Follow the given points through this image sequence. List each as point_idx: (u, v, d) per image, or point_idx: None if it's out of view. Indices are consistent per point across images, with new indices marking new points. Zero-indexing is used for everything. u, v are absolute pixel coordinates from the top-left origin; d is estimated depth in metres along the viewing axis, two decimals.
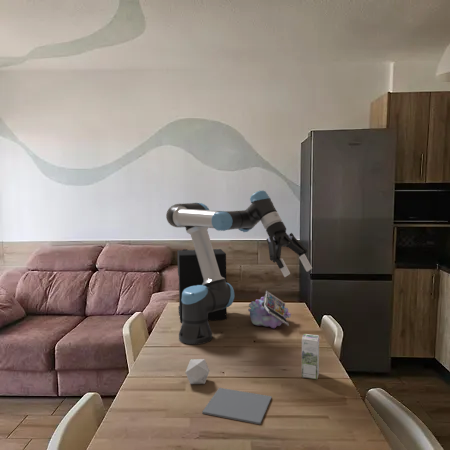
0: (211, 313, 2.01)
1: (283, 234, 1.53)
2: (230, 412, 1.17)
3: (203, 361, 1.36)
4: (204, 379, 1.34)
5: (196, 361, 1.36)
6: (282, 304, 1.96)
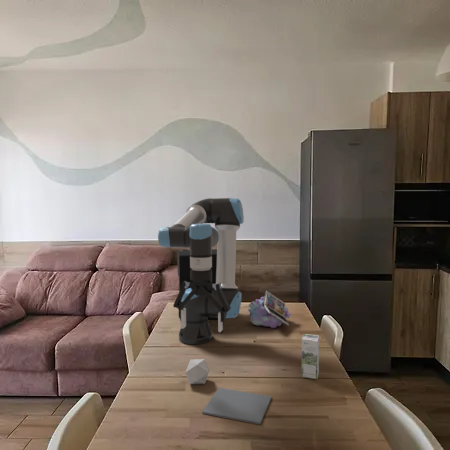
0: None
1: (203, 283, 1.32)
2: (230, 412, 1.17)
3: (203, 361, 1.36)
4: (204, 379, 1.34)
5: (196, 361, 1.36)
6: (282, 304, 1.96)
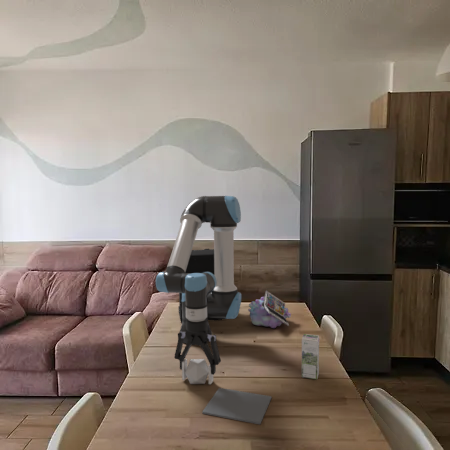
0: None
1: (199, 333, 1.34)
2: (230, 412, 1.17)
3: (203, 361, 1.36)
4: (204, 379, 1.34)
5: (196, 361, 1.36)
6: (282, 304, 1.96)
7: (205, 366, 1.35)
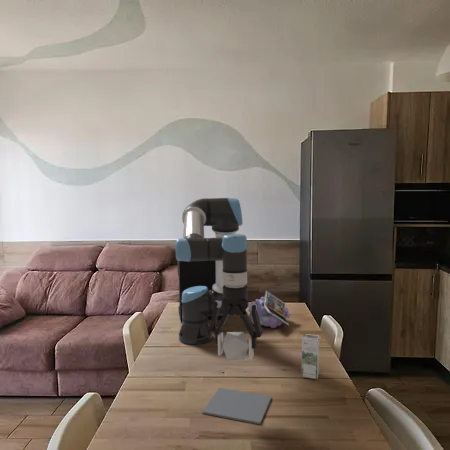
0: None
1: (238, 302, 1.18)
2: (230, 412, 1.17)
3: (242, 334, 1.20)
4: (244, 354, 1.18)
5: (234, 334, 1.19)
6: (282, 304, 1.96)
7: (244, 339, 1.19)
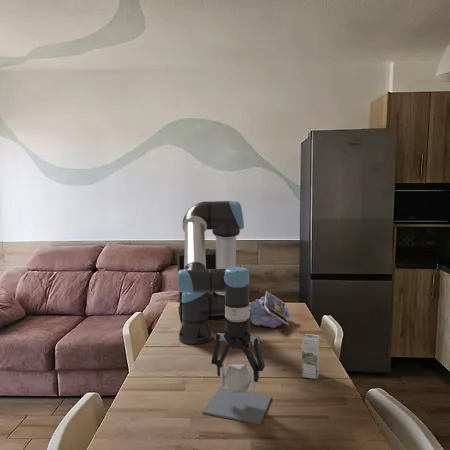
0: None
1: (240, 335, 1.18)
2: (230, 412, 1.17)
3: (244, 367, 1.21)
4: (246, 387, 1.18)
5: (236, 367, 1.20)
6: (282, 304, 1.96)
7: (247, 372, 1.19)
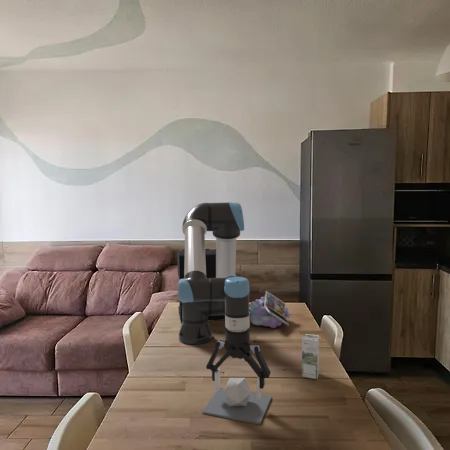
0: None
1: (240, 345, 1.18)
2: (230, 412, 1.17)
3: (244, 380, 1.21)
4: (246, 401, 1.19)
5: (236, 381, 1.20)
6: (282, 304, 1.96)
7: (247, 386, 1.20)
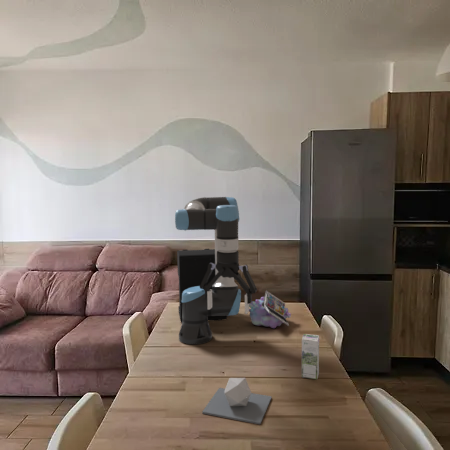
0: None
1: (230, 265, 1.32)
2: (230, 412, 1.17)
3: (244, 380, 1.21)
4: (246, 401, 1.19)
5: (236, 381, 1.20)
6: (282, 304, 1.96)
7: (247, 386, 1.20)
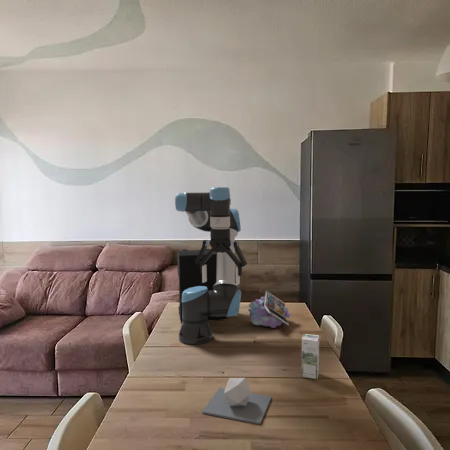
0: None
1: (222, 241, 1.46)
2: (230, 412, 1.17)
3: (244, 380, 1.21)
4: (246, 401, 1.19)
5: (236, 381, 1.20)
6: (282, 304, 1.96)
7: (247, 386, 1.20)
